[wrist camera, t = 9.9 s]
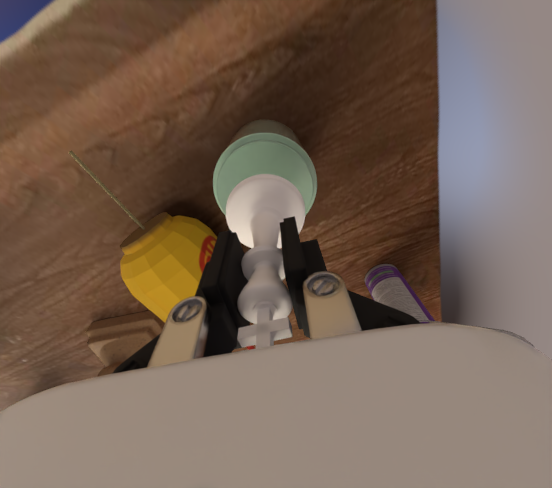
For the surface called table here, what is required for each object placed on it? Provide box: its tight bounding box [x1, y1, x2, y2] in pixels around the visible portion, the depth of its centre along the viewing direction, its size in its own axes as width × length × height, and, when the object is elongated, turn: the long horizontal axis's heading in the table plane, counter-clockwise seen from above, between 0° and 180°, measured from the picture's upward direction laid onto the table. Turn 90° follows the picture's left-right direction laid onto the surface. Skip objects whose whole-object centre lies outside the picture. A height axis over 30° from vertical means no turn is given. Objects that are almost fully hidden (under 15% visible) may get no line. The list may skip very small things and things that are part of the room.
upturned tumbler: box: [213, 120, 317, 216], centre depth 23 cm, size 8×8×9 cm
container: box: [365, 264, 435, 324], centre depth 29 cm, size 5×5×15 cm
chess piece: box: [226, 174, 305, 348], centre depth 12 cm, size 5×5×10 cm
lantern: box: [68, 151, 256, 350], centre depth 28 cm, size 10×10×30 cm
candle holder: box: [85, 311, 165, 377], centre depth 30 cm, size 11×11×24 cm
